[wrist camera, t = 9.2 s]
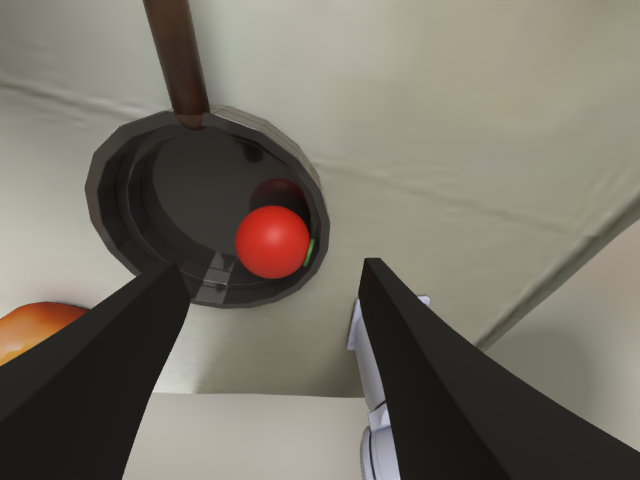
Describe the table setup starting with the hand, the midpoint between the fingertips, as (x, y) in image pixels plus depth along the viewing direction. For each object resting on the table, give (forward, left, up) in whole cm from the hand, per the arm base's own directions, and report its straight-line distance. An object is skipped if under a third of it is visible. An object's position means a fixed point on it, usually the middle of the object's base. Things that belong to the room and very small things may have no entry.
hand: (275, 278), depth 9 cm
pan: (-2, +4, -9) cm, 10 cm away
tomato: (-2, +3, -7) cm, 8 cm away
